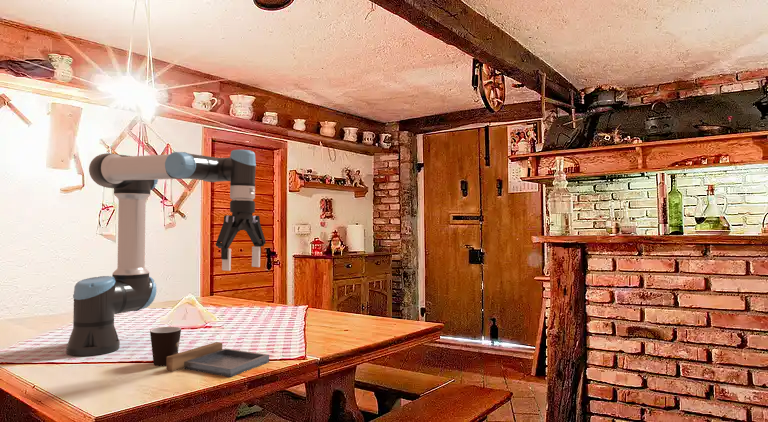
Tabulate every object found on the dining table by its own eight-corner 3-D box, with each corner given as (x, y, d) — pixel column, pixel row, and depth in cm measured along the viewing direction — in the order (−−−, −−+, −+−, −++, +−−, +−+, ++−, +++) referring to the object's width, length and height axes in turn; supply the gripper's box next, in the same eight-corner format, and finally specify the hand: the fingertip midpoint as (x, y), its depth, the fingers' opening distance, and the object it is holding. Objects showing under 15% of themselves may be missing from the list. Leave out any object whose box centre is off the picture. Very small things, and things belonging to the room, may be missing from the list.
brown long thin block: (166, 370, 149) (166, 356, 149) (216, 354, 167) (216, 341, 167) (172, 371, 148) (172, 357, 148) (222, 355, 166) (222, 342, 166)
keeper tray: (184, 369, 151) (184, 361, 151) (225, 355, 166) (225, 348, 166) (230, 377, 144) (230, 369, 144) (269, 362, 159) (269, 354, 159)
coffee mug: (169, 368, 152) (170, 333, 152) (143, 366, 153) (143, 331, 153) (191, 357, 163) (192, 325, 163) (167, 356, 165) (167, 324, 165)
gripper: (223, 198, 150) (222, 272, 150) (277, 201, 172) (276, 266, 172) (203, 198, 153) (202, 271, 153) (258, 201, 176) (257, 264, 175)
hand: (241, 268), depth 163 cm, fingers open, 13 cm apart
